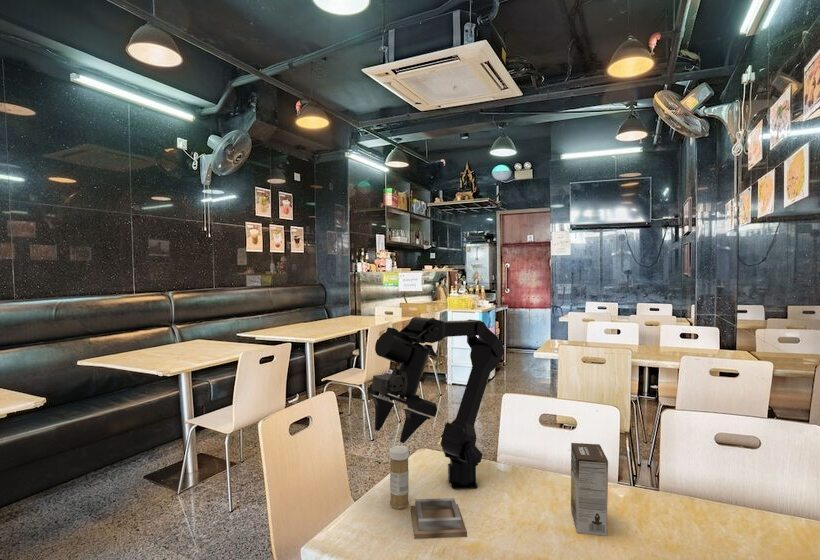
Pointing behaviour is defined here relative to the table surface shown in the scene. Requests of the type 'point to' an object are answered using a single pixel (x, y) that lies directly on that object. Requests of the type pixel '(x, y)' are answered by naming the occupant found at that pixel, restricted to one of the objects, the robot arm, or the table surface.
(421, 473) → the table surface
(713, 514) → the table surface
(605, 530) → the coffee box
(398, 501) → the sprinkles bottle
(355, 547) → the table surface
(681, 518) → the table surface
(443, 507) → the socket board
